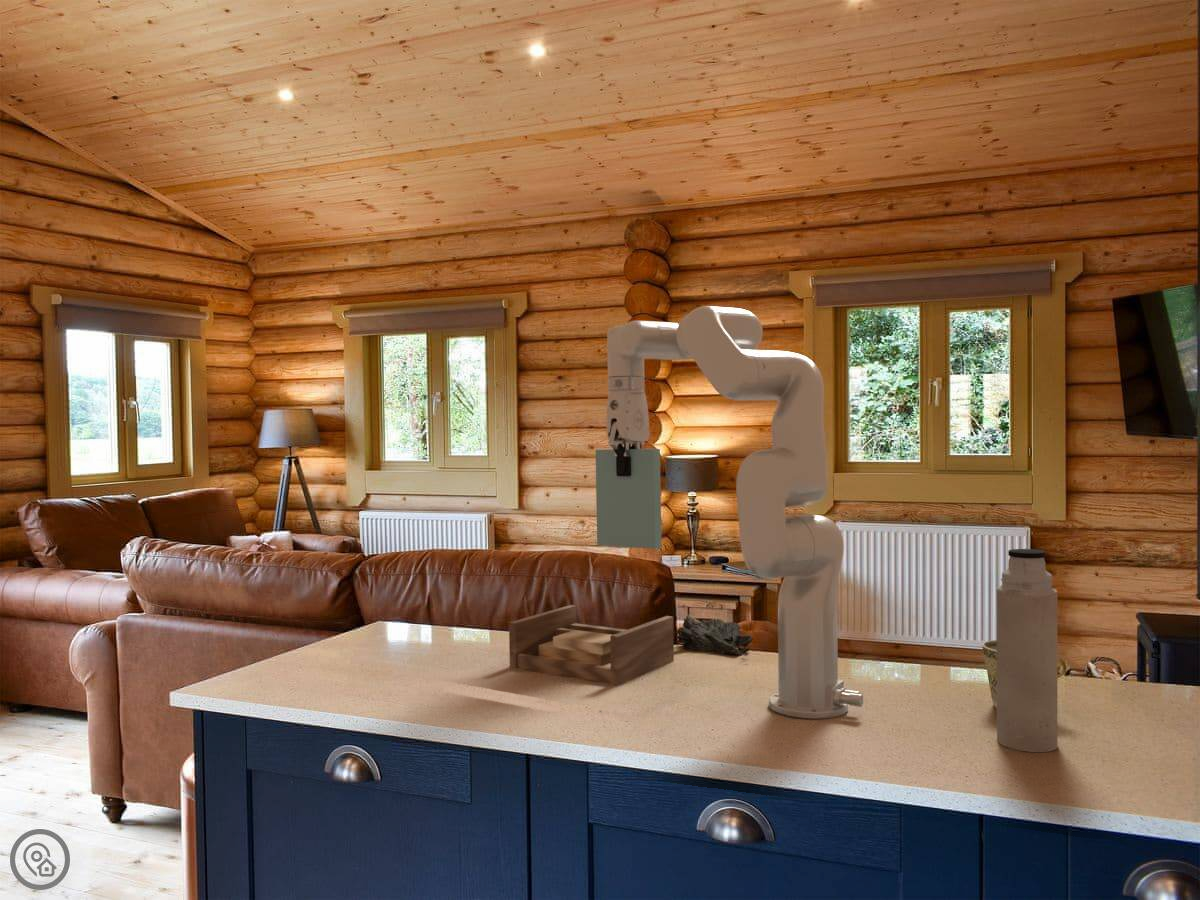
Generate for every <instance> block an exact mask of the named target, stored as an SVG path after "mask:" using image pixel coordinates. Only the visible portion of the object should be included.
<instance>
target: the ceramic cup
mask: <svg viewBox="0 0 1200 900" xmlns="http://www.w3.org/2000/svg"><path fill="white" fill-rule="evenodd" d="M981 647H982V654H983V655H982V656H983V660H984V665H985V670H986V672H987V673H986V674H987V679H988V684H989V685H988V686H989V690H990V696H991V697H990V698H991V701H992V704H993V707H995V708H996V709H997V639H993V640H988V641H985V642H983V643H982V646H981ZM1057 663H1060V665H1061V666H1062V671H1061V672H1060V673H1059V674H1057V679H1059V678H1061V677H1063V676H1064V675H1065V674H1066V672H1067V666H1066V663H1065V661H1064V660H1063V659H1061V657H1057Z"/></svg>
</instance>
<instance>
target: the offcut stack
mask: <svg viewBox="0 0 1200 900" xmlns="http://www.w3.org/2000/svg"><path fill="white" fill-rule="evenodd" d="M610 636H611V635H609V634H602V633H594V632H586V631H579V630H573V631H570V632H567V633H564V634H561V635H557V636H554V637H553V641H550V642H547V643H544V644H541V645H539V657H546V658H552V659H559V660H565V661H572V662H579V663H585V664H592V665H598V666H605V667H611V647H610Z"/></svg>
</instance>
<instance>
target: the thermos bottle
mask: <svg viewBox="0 0 1200 900" xmlns="http://www.w3.org/2000/svg"><path fill="white" fill-rule="evenodd" d="M1007 553H1008V556H1009V558H1008V562H1007V563H1008V565H1007V566H1008V568H1007V569H1005V570H1003V571H1002V573H1001V578H1000V581H1001V585H999V586H997V587H996V640H997V708H996V740H997V742H998V744H1000V745H1002V746H1004V747H1005V748H1008V749H1013V750H1016V751H1021V752H1022V751H1023V752H1028V753H1047V752H1052V751H1054V750H1057V749H1058V736H1059V735H1058V732H1059V731H1058V678H1057V675H1058V662H1057V658H1058V590H1057V589H1056V588H1054V587H1053V581H1054V579H1053V575H1052V573H1050V571H1047V569H1046V561H1045V558H1046V551H1045V550H1042V549H1041V550H1039V549H1031V548H1013V549H1009V550H1007Z"/></svg>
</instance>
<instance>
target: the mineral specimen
mask: <svg viewBox="0 0 1200 900" xmlns="http://www.w3.org/2000/svg"><path fill="white" fill-rule="evenodd" d="M676 630H677V636H675V638H676V639H677V640H676V642H677V643H681V644H682V648H684V649H685V650H687V651H688V652H689V651H691V652H700V653H702V652H703V653H712V654H718V655H729V654H730V655H735V656H743V654H746V653H748V652H750V650H751V647H748V646H750V644H751V643H752V642H753V641H754V637H753V635H752V634H750V635H745V634H741V632H740V631H741V626H740V624H739V623H737V622H735V621H734V622H732V621H730V622H727V621H726V622H725V621H723V620H722V619H715V618H713V619H712V618H711V619H709V620H701V621H699V620H697V619H696V618H694V616H693V614H691V613H688V615H687V616H686V617H685V618H683V623H682V626H681V627H678V628H677V629H676ZM746 647H747V648H746Z"/></svg>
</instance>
